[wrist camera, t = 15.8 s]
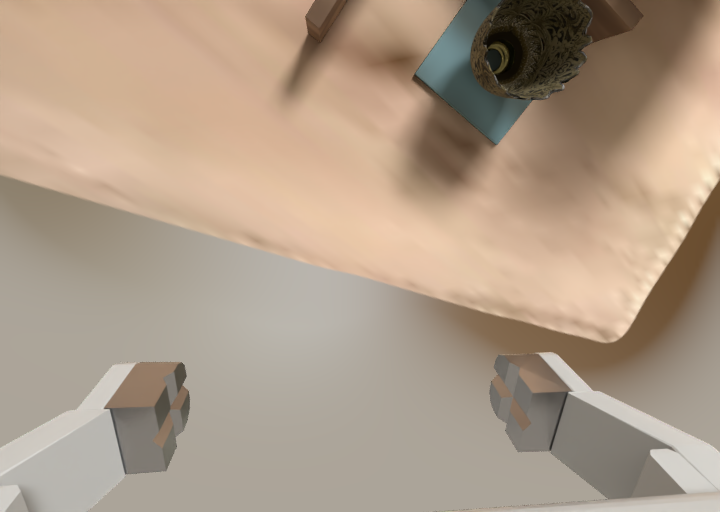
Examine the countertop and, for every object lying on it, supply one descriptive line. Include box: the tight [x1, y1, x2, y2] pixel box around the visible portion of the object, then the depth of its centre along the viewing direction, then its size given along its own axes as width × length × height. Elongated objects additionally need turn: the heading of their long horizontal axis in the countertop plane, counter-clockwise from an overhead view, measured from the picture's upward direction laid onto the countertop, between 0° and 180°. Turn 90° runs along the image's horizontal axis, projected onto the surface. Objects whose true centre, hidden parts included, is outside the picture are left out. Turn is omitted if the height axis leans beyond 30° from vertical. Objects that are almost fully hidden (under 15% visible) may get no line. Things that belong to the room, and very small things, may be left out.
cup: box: [470, 0, 593, 100], centre depth 29 cm, size 8×7×8 cm
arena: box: [305, 0, 643, 145], centre depth 30 cm, size 16×20×5 cm
